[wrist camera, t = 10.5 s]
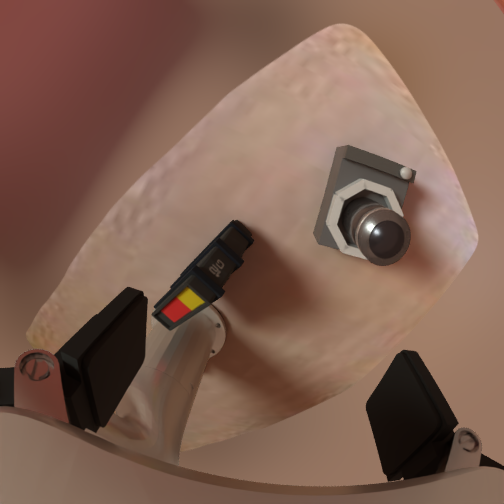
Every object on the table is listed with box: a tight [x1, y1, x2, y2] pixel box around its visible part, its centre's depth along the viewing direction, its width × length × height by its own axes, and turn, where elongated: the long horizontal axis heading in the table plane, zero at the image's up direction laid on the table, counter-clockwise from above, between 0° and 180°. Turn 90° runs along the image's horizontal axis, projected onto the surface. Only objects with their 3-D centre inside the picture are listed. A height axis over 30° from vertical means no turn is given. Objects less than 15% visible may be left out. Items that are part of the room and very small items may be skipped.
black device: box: [152, 220, 254, 331], centre depth 34 cm, size 4×13×15 cm, turn 136°
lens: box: [342, 197, 411, 266], centre depth 27 cm, size 5×5×8 cm
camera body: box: [313, 145, 416, 260], centre depth 32 cm, size 12×9×7 cm
